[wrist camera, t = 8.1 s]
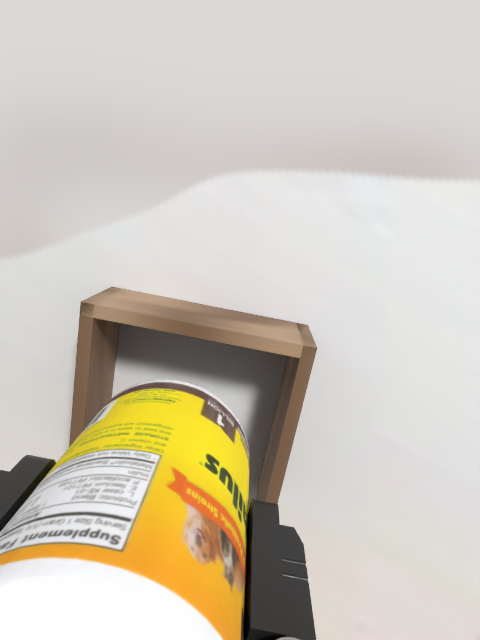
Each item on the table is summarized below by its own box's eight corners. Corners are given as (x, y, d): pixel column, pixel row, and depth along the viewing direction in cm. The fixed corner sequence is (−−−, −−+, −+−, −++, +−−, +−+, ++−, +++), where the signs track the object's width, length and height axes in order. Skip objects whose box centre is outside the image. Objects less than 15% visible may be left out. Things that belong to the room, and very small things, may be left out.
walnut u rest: (307, 325, 17) (317, 348, 14) (267, 490, 19) (268, 539, 16) (111, 286, 17) (80, 301, 14) (94, 456, 19) (65, 500, 16)
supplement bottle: (256, 507, 14) (249, 1134, 5) (109, 511, 15) (-187, 1102, 5) (245, 366, 13) (201, 844, 3) (83, 375, 13) (-407, 826, 4)
